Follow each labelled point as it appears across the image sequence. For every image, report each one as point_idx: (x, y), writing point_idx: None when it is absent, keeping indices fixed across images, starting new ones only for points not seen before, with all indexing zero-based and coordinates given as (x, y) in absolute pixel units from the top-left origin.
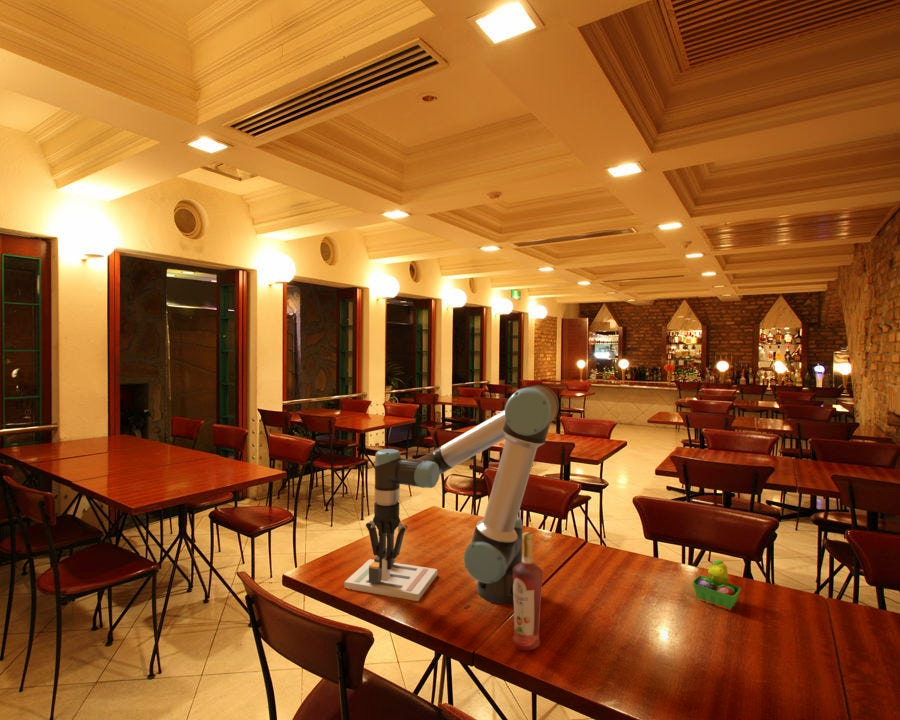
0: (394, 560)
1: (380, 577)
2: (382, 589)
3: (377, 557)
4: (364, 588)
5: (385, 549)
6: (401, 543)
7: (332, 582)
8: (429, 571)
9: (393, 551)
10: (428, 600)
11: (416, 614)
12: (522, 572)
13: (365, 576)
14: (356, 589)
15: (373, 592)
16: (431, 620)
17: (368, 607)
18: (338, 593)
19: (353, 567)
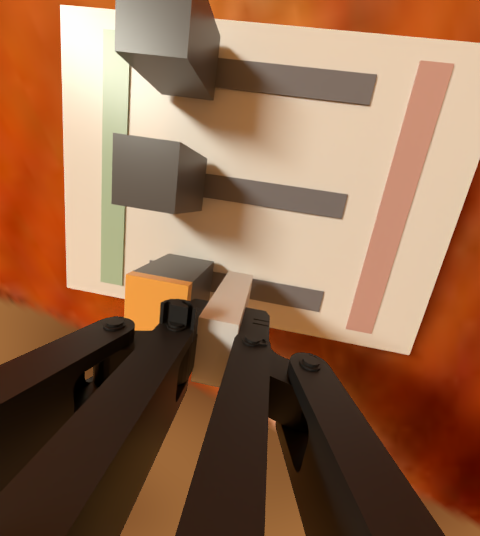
0: (217, 29)
1: (207, 286)
2: None
3: (121, 173)
4: None
5: (178, 360)
6: (411, 503)
7: (22, 241)
8: (462, 95)
9: (289, 472)
10: (441, 329)
11: (397, 420)
12: None
13: (126, 226)
14: None
15: None
16: (457, 450)
17: (218, 390)
18: (84, 315)
19: (27, 80)
